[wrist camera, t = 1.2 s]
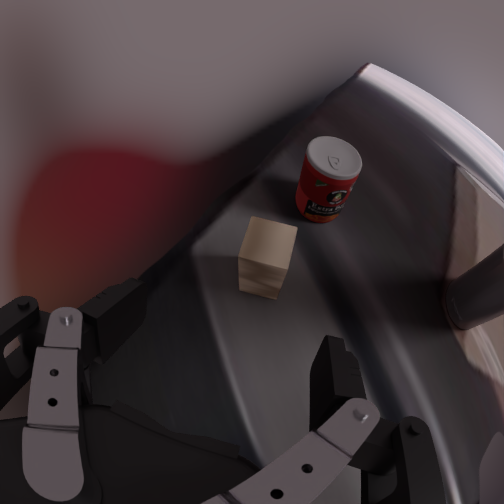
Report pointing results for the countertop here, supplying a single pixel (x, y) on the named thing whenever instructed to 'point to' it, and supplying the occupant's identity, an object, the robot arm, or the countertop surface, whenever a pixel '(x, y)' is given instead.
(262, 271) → the oak block
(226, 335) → the countertop surface
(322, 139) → the canned food
